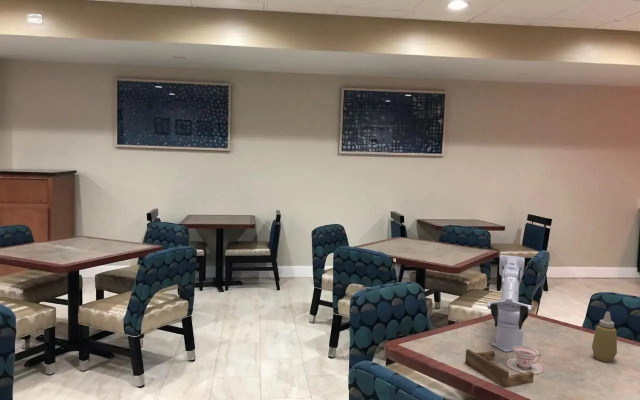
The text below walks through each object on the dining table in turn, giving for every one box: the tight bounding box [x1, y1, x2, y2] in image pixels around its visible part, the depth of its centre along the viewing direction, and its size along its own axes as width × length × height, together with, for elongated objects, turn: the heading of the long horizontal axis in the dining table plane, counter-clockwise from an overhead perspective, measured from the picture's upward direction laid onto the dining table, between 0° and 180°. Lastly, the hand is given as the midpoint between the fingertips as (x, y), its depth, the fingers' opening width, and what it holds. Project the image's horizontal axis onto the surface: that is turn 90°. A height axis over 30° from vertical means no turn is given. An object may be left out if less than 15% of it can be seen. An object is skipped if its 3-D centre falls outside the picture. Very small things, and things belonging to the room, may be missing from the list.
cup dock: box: [464, 348, 535, 388], centre depth 158 cm, size 12×18×5 cm, turn 23°
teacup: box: [505, 345, 544, 375], centre depth 163 cm, size 12×12×6 cm
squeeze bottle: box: [591, 311, 618, 363], centre depth 172 cm, size 8×8×18 cm
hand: (507, 326), depth 160 cm, fingers open, 7 cm apart
